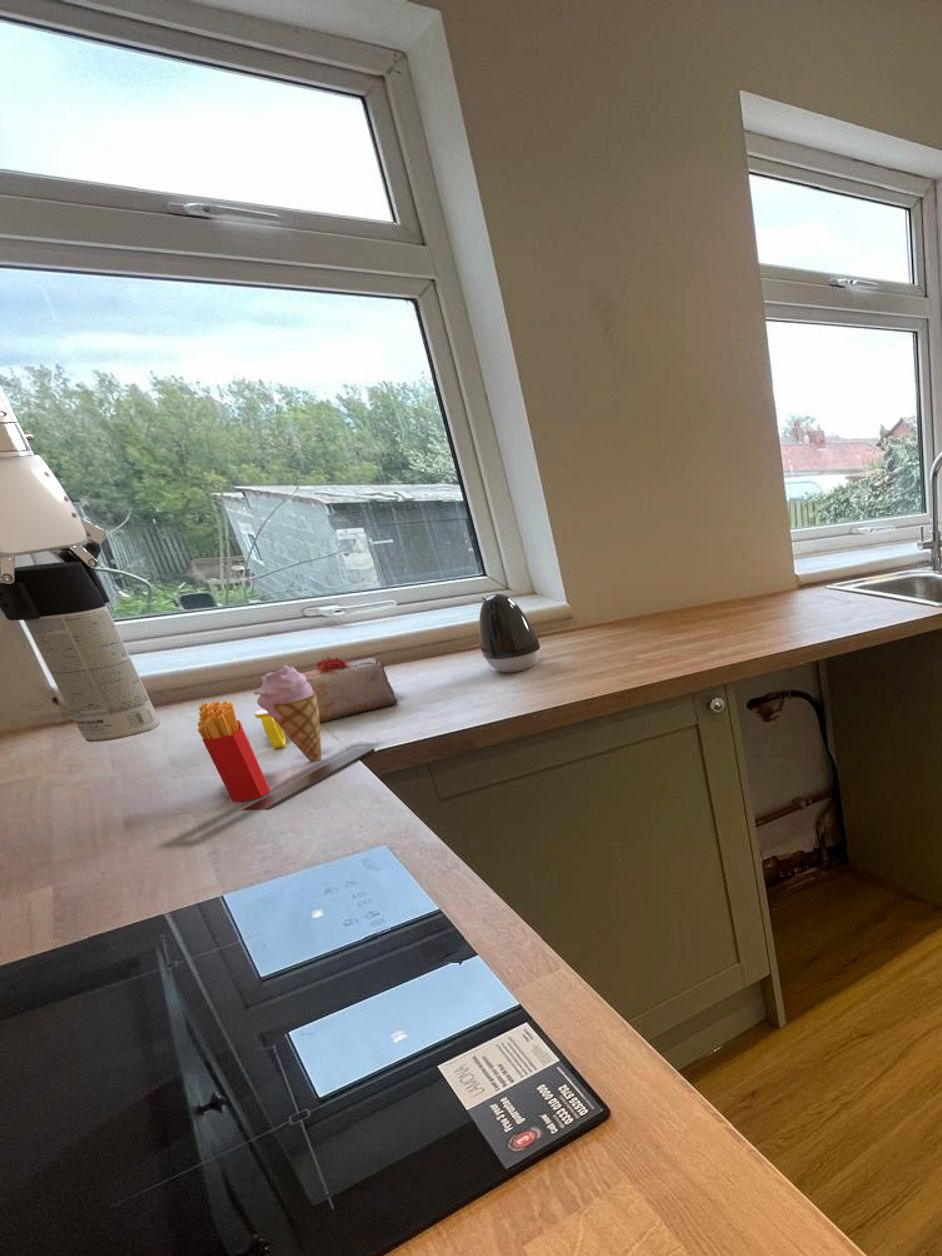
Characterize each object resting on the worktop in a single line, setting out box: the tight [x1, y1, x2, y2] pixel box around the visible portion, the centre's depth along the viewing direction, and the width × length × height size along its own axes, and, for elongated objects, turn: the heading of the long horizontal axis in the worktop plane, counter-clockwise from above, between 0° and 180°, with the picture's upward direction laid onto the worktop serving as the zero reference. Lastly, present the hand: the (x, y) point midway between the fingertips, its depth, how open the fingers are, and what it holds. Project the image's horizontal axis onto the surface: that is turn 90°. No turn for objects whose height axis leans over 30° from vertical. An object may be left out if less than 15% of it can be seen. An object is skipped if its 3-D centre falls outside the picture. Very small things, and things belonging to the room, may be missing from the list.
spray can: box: [14, 561, 160, 743], centre depth 94 cm, size 7×7×20 cm
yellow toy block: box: [254, 708, 287, 749], centre depth 129 cm, size 6×3×6 cm, turn 37°
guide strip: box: [240, 747, 376, 812], centre depth 112 cm, size 3×30×1 cm, turn 179°
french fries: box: [197, 700, 271, 803], centre depth 110 cm, size 9×4×13 cm, turn 44°
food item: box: [300, 656, 399, 724], centre depth 142 cm, size 14×8×10 cm, turn 138°
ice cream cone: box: [253, 664, 322, 762], centre depth 120 cm, size 7×6×15 cm
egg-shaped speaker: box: [478, 593, 541, 673], centre depth 161 cm, size 10×10×15 cm
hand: (60, 609), depth 92 cm, fingers closed on spray can, 6 cm apart
